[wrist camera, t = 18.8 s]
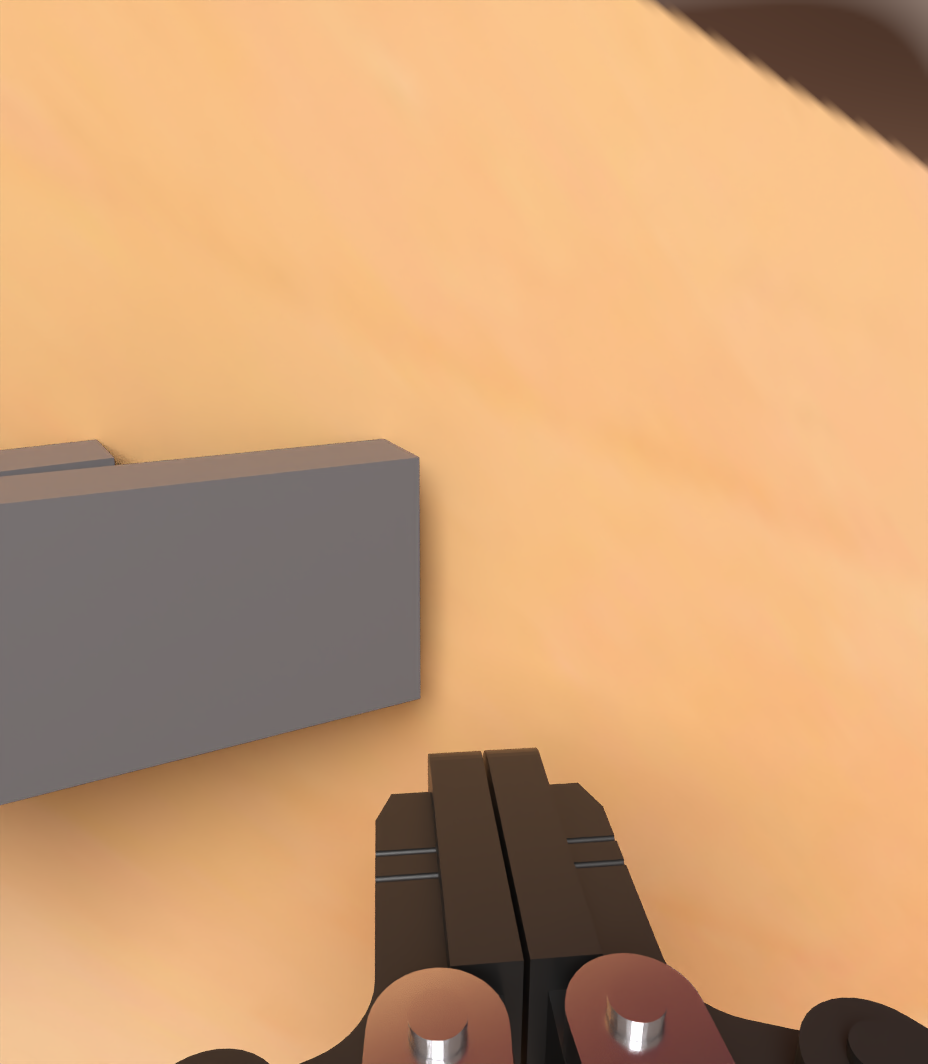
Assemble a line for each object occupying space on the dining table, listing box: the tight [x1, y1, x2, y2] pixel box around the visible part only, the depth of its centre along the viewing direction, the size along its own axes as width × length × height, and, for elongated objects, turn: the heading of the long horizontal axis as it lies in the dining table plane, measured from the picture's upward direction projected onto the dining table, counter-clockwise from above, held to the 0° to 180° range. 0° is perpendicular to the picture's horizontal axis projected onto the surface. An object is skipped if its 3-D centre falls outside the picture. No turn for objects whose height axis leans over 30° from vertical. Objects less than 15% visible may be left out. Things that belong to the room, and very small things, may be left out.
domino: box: [0, 439, 420, 805], centre depth 17 cm, size 2×6×12 cm
